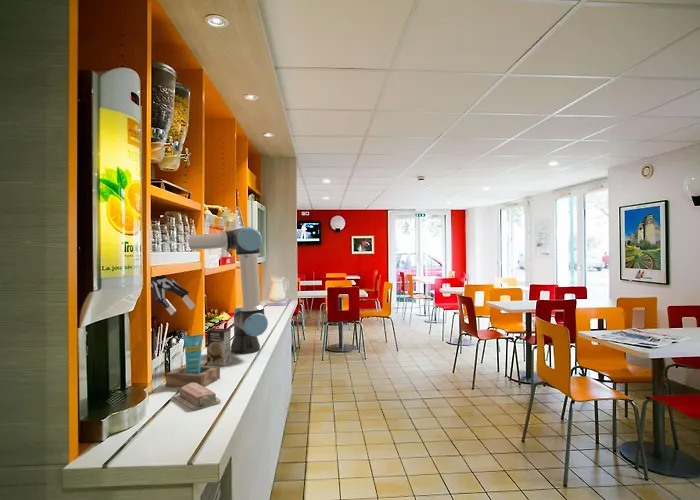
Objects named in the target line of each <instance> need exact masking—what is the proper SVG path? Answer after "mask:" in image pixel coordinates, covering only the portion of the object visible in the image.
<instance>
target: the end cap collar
mask: <svg viewBox="0 0 700 500" xmlns="http://www.w3.org/2000/svg"><path fill="white" fill-rule="evenodd" d="M218 379H219V380H220V379H221V366H218V365H203V364H202V365H201V366H200V374H191V373H186V364H185V365H183V366H181V367H179V368H176V369H173V370H171V371H169V372H166V374H165V387H166V388H167V387H168V388H177V387H183V386H185V385H187V384H189V383H192V382H193V383H198V384H200V385H201V386H203V387H205V388H207V387H208V386H209V384H210V385H212V384H213V383H215V382H217V381H218ZM211 383H212V384H211Z"/></svg>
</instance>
